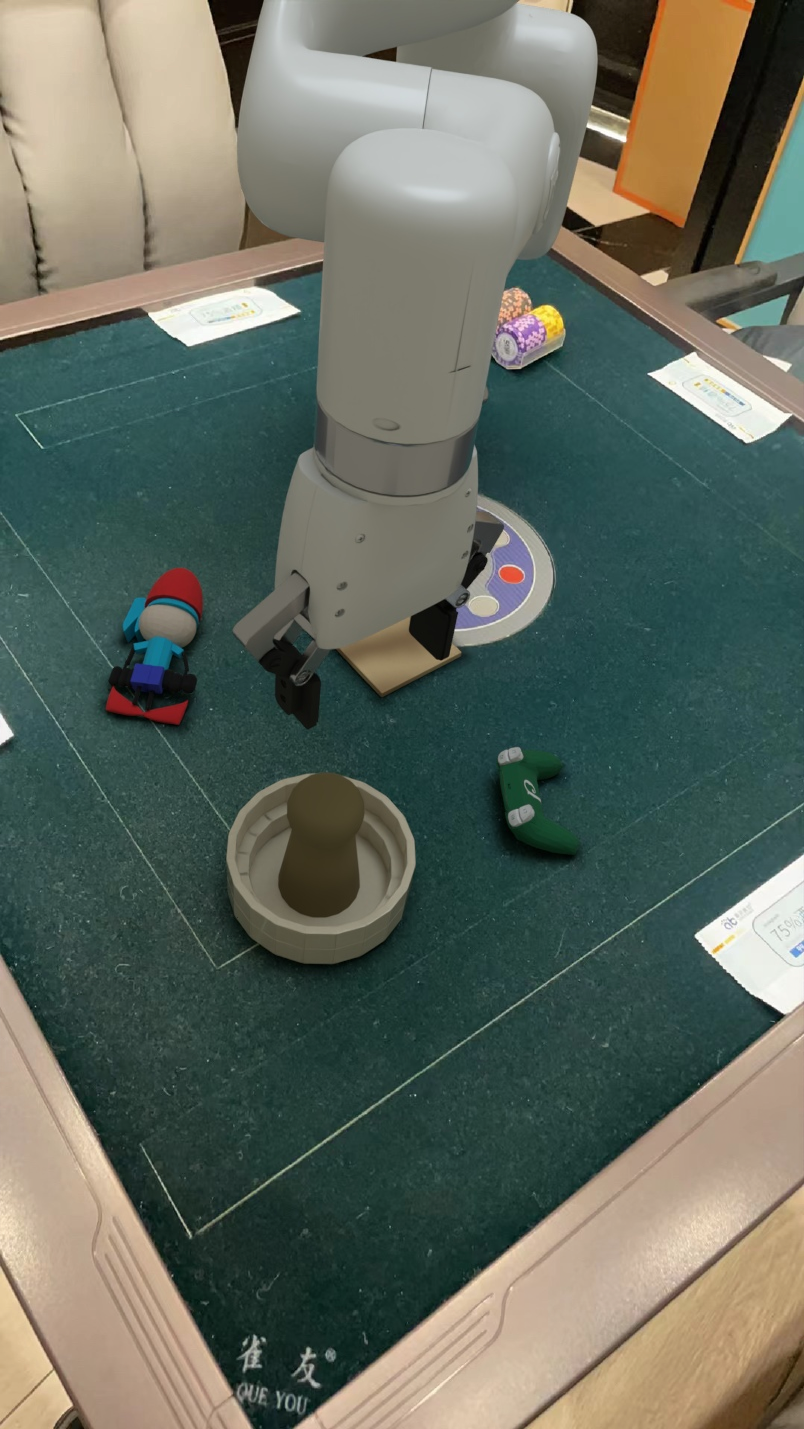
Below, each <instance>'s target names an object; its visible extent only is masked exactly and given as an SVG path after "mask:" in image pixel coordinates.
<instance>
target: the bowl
mask: <svg viewBox="0 0 804 1429" xmlns="http://www.w3.org/2000/svg"><path fill="white" fill-rule="evenodd" d="M313 774H314V773H304V774H300V775H295V776H291V777H287V778H283V779H280V780H278V781H276V782H274V783H273V784H271V785H269V786H267V787H264V789H262V790H260V791H258V792H256V794H254V796H252V798H251V799H250V800H249V801H248V802H247V803H246V804H245V805H243V807H242V808H241V809H240V810H239V811H238V813H237V815H236V817H235V820H234V822H233V824H232V826H231V827H230V830H229V832H228V834H227V844H226V845H227V846H226V857H225V858H226V859H225V860H226V888H227V896H228V899H229V902H230V905H231V908H232V912H233V915H234V918H235V919H236V920H237V921H238V923H239V924H240V925H241V927H242V928H243V929H244V931H245V932H246V934H247V935H248V937H250V938H251V939H252V940H253V941H255V942H256V943H258V944H259V945H261V946H262V947H263V948H265V949H266V950H268V951H269V952H270V953H272V954H274V955H275V956H278V957H281V958H285V959H288V960H291V961H294V962H297V963H301V964H314V965H315V964H316V965H318V964H319V965H321V964H322V965H334V964H338V963H342V962H344V961H348V960H352V959H355V958H360V957H362V956H363V955H365V954H366V953H368V952H369V951H371V950H372V949H374V948H376V947H378V946H379V945H381V943H383V942H385V940H386V939H387V938H388V937H389V936H390V934H391V933H392V932H393V931H394V929H395V928H396V927H397V925H398V924H399V923H400V921H401V920H402V918H403V915H404V912H405V909H406V905H407V903H408V899H409V897H410V892H411V887H412V884H413V880H414V879H413V878H414V876H415V875H414V874H415V870H416V863H417V861H416V842H415V838H414V836H413V833H412V830H411V828H410V826H409V823H408V821H407V819H406V817H405V815H404V814H403V813H402V812H401V810H400V809H399V808H398V807H397V806H396V805H395V804H394V803H393V802H392V801H391V799H390V798H389V797H387V795H385V794H383V793H382V792H381V791H379V790H377V789H376V788H374V787H372V786H371V785H369V784H367V783H366V782H364V781H362V780H358V779H354V778H351V777H348V776H345V775H342V776H343V777H345V778H347V779H348V780H350V781H351V782H352V783H353V784H354V785H355V786H356V787H357V788H358V789H359V791H360V793H361V795H362V798H363V801H364V810H365V814H364V819H363V822H362V825H361V828H360V829H359V831H358V832H357V833H356V835H355V836H356V846H357V856H358V866H359V877H360V888H359V891H358V894H357V897H356V899H355V900H354V901H353V903H352V904H351V905H350V906H349V907H348V908H347V909H345V910H344V911H342V912H341V913H339V914H337V915H333V916H330V917H326V918H315V917H309V916H306V915H303V914H300V913H298V912H297V911H295V910H294V909H292V908H291V907H289V906H288V904H287V903H286V902H285V901H284V899H283V898H282V896H281V893H280V890H279V887H278V875H279V872H280V868H281V865H282V861H283V858H284V855H285V851H286V848H287V844H288V841H289V837H290V834H291V831H292V829H291V827H290V824H289V821H288V819H287V802H288V799H289V797H290V794H291V792H292V790H293V788H294V787H295V786H296V785H297V784H298V783H299V782H300V781H301V780H303V779H305V778H307V777H308V776H310V775H313ZM228 892H229V893H228ZM230 899H231V900H230ZM237 917H238V918H237Z"/></svg>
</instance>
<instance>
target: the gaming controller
mask: <svg viewBox="0 0 804 1429" xmlns="http://www.w3.org/2000/svg"><path fill="white" fill-rule="evenodd" d="M563 767H564V765H563V762H562V760H561V759H560V758H559V757H558V756H557V755H556V754H554V753H551V752H549V751H543V750H537V749H521V748H520V747H519V746H515V747H511V748H506V749H504V750H503V751H501V752H500V753H499V754H498V755H497V756H496V770H497V772H498V779H499V784H500V790H501V795H502V800H503V807H504V811H505V812H504V815H505V820H506V823H507V825H508V828H509V830H510V832H511V833H512V834H513V835H514V838H515V839H516V840H518V841H519V842H520V841H521V842H522V843H524V844H526V845H529V846H531V847H533V848H536V849H539V850H543V851H545V852H549V853H553V854H560V855H561V854H562V855H570V856H574V855H576V853H577V851H578V848H579V845H580V840H579V838H578V837H577V836H576V835H575V834H573V832H572V831H571V830H569V829H567V828H565V827H563V826H562V825H560V824H558V823H556V822H554V821H552V820H550V819H548V818H546V817H545V814H544V809H543V803H542V799H541V794H540V790H539V789H540V788H539V784H538V781H541V780H546V779H550V778H553V777H555V776H557V775H559V773H561V771H562V770H563Z"/></svg>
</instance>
